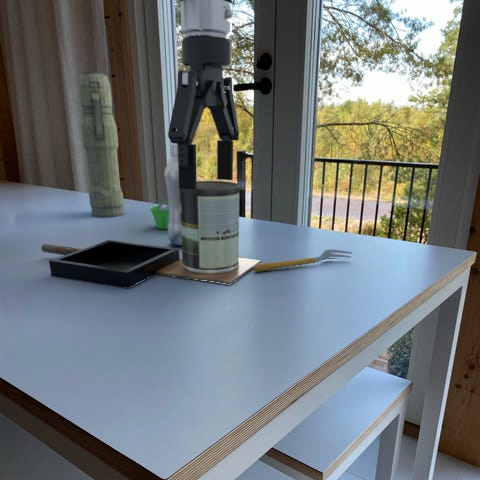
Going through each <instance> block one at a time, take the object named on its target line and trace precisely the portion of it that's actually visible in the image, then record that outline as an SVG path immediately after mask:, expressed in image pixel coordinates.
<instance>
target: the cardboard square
mask: <svg viewBox="0 0 480 480" xmlns="http://www.w3.org/2000/svg"><path fill="white" fill-rule="evenodd" d="M182 259H183V258H179V260H178V261H176V262H174V263H172V264H170V265H168V266H166V267H164V268H162V269H160V270H158V271H157V272H156V273H157V274H160V275H159V276H163V275H167V276H166V277H169V276H175V277H174V278H176V277H182V278H181V279H183V278H189V279H197V280H207V281H214V282H220V283H226V284H231V283H233V282H234V281H235V280H237V279H238V278H240V277H241V276H243V275H244V274H245V273H247V272H248V271H250V270H251V269H252V268H254V265H256V264H259V263H261V264H262V260H260V259H254V258H253V259H252V258H245V257H239V266H238V268H236V269H235V270H232V271H230V272H225V273H217V274H202V273H195V272H191V271H188V270H186V269H184V268H183V266H182V264H183V260H182ZM252 270H253V269H252ZM252 270H251V271H252ZM251 271H250V272H251ZM248 273H249V272H248ZM248 273H247V274H248ZM245 275H246V274H245ZM245 275H244V276H245ZM244 276H243V277H244ZM241 278H242V277H241ZM241 278H240V279H241ZM189 279H188V280H189ZM238 280H239V279H238ZM238 280H237V281H238ZM234 283H235V282H234ZM234 283H233V284H234Z"/></svg>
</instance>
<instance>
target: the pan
mask: <svg viewBox="0 0 480 480" xmlns="http://www.w3.org/2000/svg"><path fill="white" fill-rule="evenodd" d="M40 249H41V251H42V252H43V253H45V254H46V253H47V254H53V255H60V256H58V257H55V258H52V259H49V260H48V264H49V270H50V276H51V277H55V276H56V278H61V277H62V278H61V279H67V278H69V279H68V280H73V279H76V280H75V281H79V280H82V282H85V281H87V283H92V282H94V283H93V284H98V285H104V284H105V286H110V285H111V286H110V287H116V286H118V287H117V288H122V287H127V288H126V289H128V288H129V287H131V286H133V285H135V284H136V283H138V282H140V281H142V280H144V279H147V278H148V277H151V276H153V275H155V274H157V273H156V272H157V271H158V270H160V269H162V268H164V267H166V266H168V265H170V264H172V263H174V262H176V261H178V260H180V248H175V247H168V246H160V245H159V246H158V245H151V244H142V243H135V242H129V241H128V242H126V241H120V240H119V241H118V240H111V239H108V240H105V241H101V242H99V243H96V244H93V245H90V246H87V247H85V248H79V247H71V246H64V245H55V244H49V243H44V244H42V245H41V247H40ZM155 276H156V275H155ZM153 277H154V276H153ZM151 278H152V277H151ZM147 280H148V279H147ZM135 286H136V285H135ZM133 287H134V286H133ZM131 288H132V287H131ZM129 289H130V288H129Z"/></svg>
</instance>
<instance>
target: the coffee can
mask: <svg viewBox="0 0 480 480" xmlns="http://www.w3.org/2000/svg"><path fill="white" fill-rule="evenodd" d="M179 190H180V211H181V234H182V246H181V256H182V258H183V259H182V258H181V259H182V260H183V264H182V266H183V268H184V269H186V270H188V271H191V272H195V273H202V274H217V273H225V272H230V271H232V270H235V269H236V268H238V266H239V258H240V256H239V255H240V254H239V253H240V190H241V184H239V183H237V182H232V181H225V180H197V189H195V190H193V189H181V188H179Z"/></svg>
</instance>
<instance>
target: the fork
mask: <svg viewBox="0 0 480 480" xmlns="http://www.w3.org/2000/svg"><path fill="white" fill-rule="evenodd" d="M346 254H347V255H346ZM351 254H353V252H352V251H347V250H340V249H333V248H328V249H325V250H324V251H323V252H322V253H321V254H320V255H319V256H315V257H307V258H298V259H289V260H280V261H272V262H264V263H262V262H261V264H256V265H254V268H253V269H252V270H253V271H254V272H255V271H256V272H255V273H259V272H258V271H262V272H266V271H265V270H268V271H271V270H270V269H274V270H278V269H277V268H280V269H284V268H283V267H286V268H290V267H289V266H292V267H297V266H296V265H298V266H304V265H310V263H311V264H316V263H315V262H317V263H320V262H319V261H321V260H325V259H338V258H348V259H349V258H350V259H351V258H352V256H351ZM321 262H322V261H321ZM303 264H304V265H303Z"/></svg>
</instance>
